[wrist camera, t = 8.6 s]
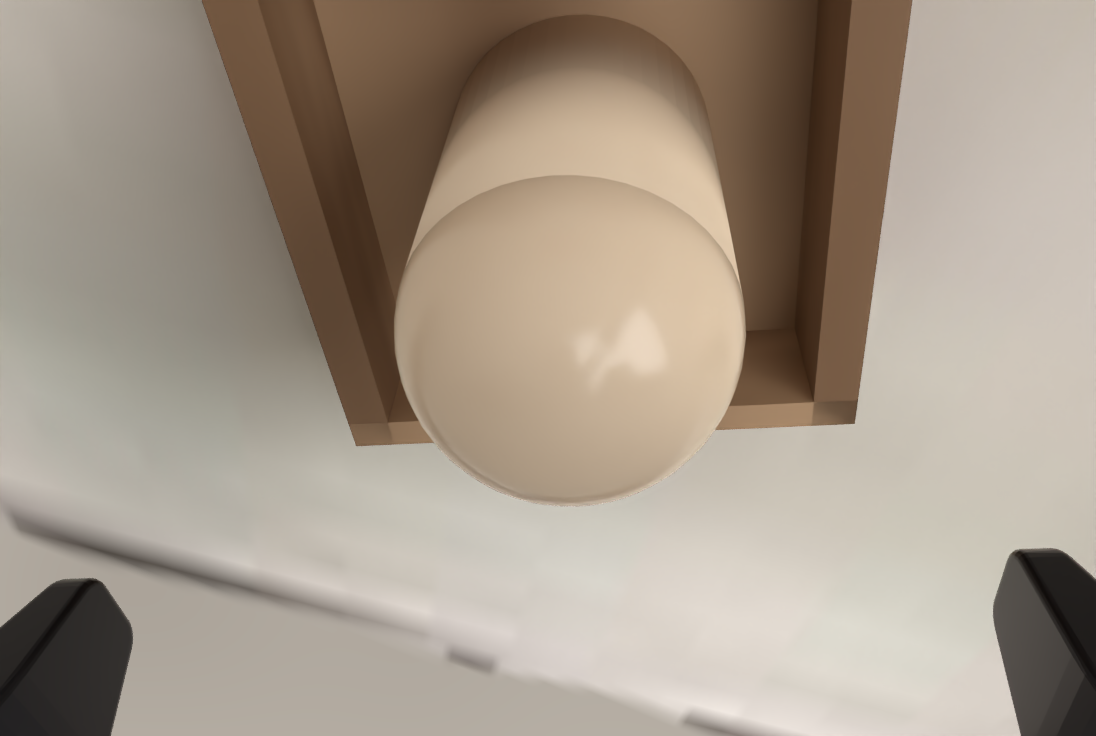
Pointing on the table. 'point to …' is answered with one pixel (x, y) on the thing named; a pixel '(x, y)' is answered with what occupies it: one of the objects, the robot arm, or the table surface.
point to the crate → (425, 119)
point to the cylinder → (573, 270)
